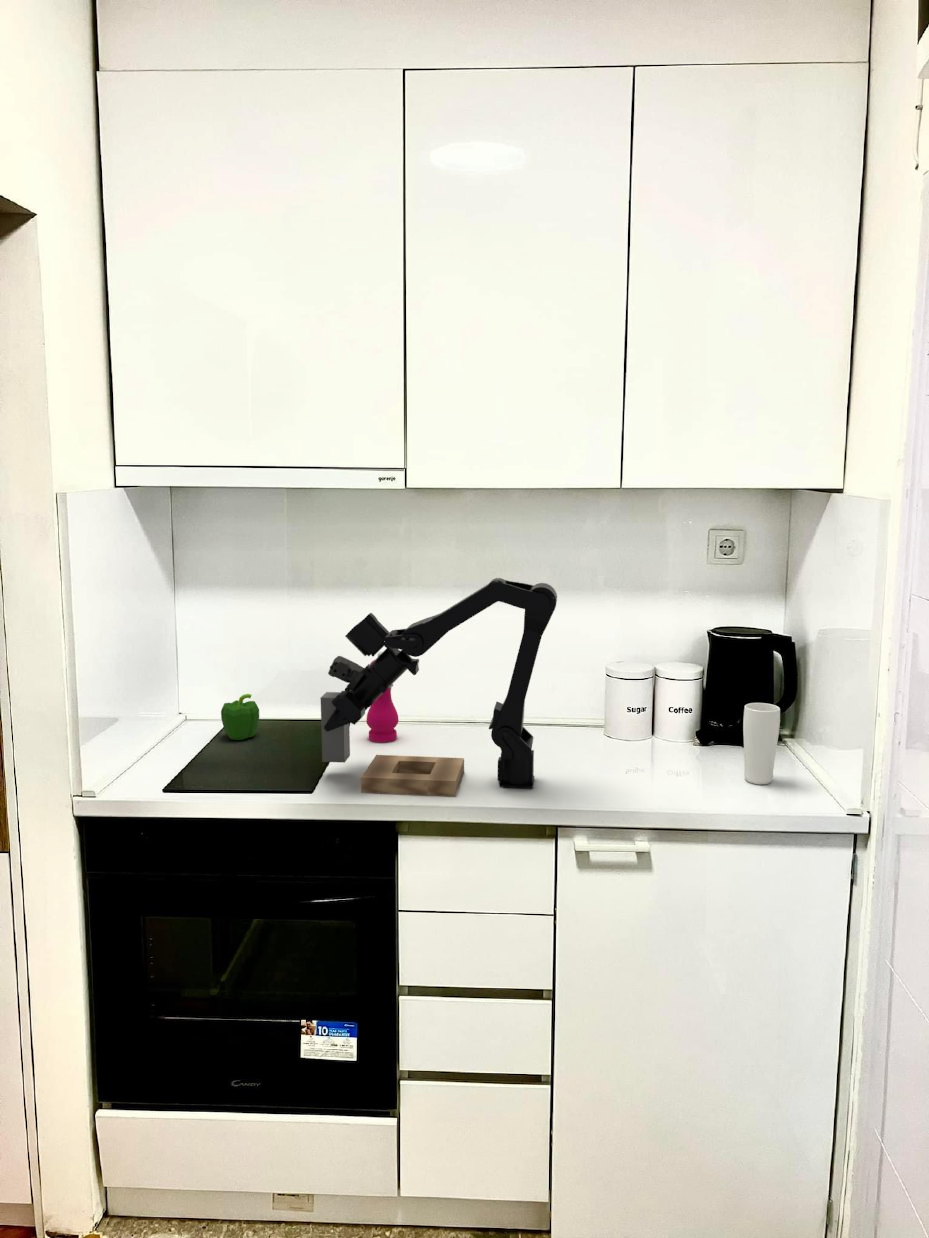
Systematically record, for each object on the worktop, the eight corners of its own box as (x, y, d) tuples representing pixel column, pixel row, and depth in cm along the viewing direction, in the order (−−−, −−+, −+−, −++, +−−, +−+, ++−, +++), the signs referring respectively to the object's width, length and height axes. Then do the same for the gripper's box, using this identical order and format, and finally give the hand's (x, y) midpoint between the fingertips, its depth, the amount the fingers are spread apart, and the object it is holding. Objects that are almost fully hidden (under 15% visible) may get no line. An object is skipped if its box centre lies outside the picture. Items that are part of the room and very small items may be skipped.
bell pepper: (216, 742, 215) (214, 698, 213) (230, 731, 223) (228, 689, 222) (252, 743, 214) (250, 699, 212) (265, 733, 222) (263, 690, 220)
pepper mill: (397, 743, 214) (396, 655, 211) (364, 743, 214) (363, 655, 211) (399, 734, 221) (399, 648, 218) (368, 734, 221) (367, 648, 218)
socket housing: (464, 772, 195) (464, 758, 194) (455, 796, 181) (455, 781, 181) (376, 768, 197) (376, 754, 196) (361, 792, 183) (360, 777, 183)
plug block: (350, 755, 194) (348, 692, 192) (344, 762, 190) (343, 698, 188) (328, 754, 195) (326, 691, 193) (322, 761, 190) (320, 697, 188)
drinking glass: (761, 773, 194) (765, 701, 192) (783, 784, 188) (788, 709, 186) (733, 777, 192) (737, 704, 189) (754, 788, 186) (758, 712, 183)
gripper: (363, 635, 197) (312, 686, 200) (341, 653, 179) (285, 709, 182) (402, 673, 197) (350, 724, 201) (384, 696, 179) (327, 751, 182)
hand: (328, 726), depth 191 cm, fingers closed on plug block, 4 cm apart
